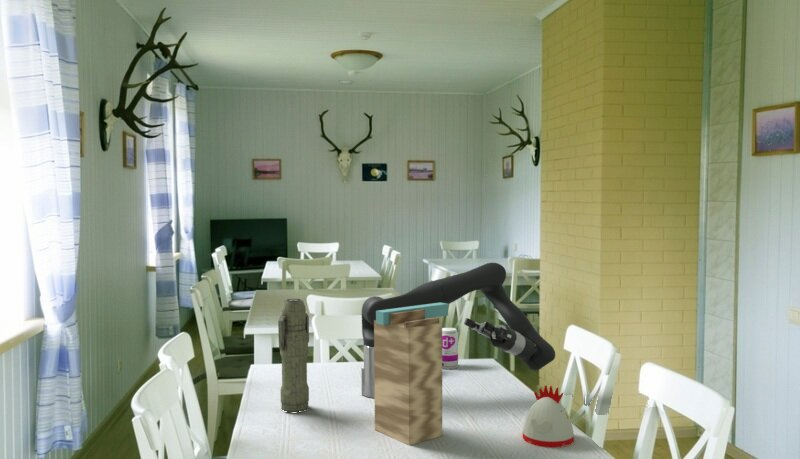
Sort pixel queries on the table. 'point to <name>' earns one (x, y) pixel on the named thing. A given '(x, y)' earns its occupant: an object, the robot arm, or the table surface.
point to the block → (430, 310)
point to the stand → (408, 377)
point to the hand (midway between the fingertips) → (474, 322)
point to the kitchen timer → (548, 421)
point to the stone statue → (294, 355)
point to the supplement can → (449, 348)
